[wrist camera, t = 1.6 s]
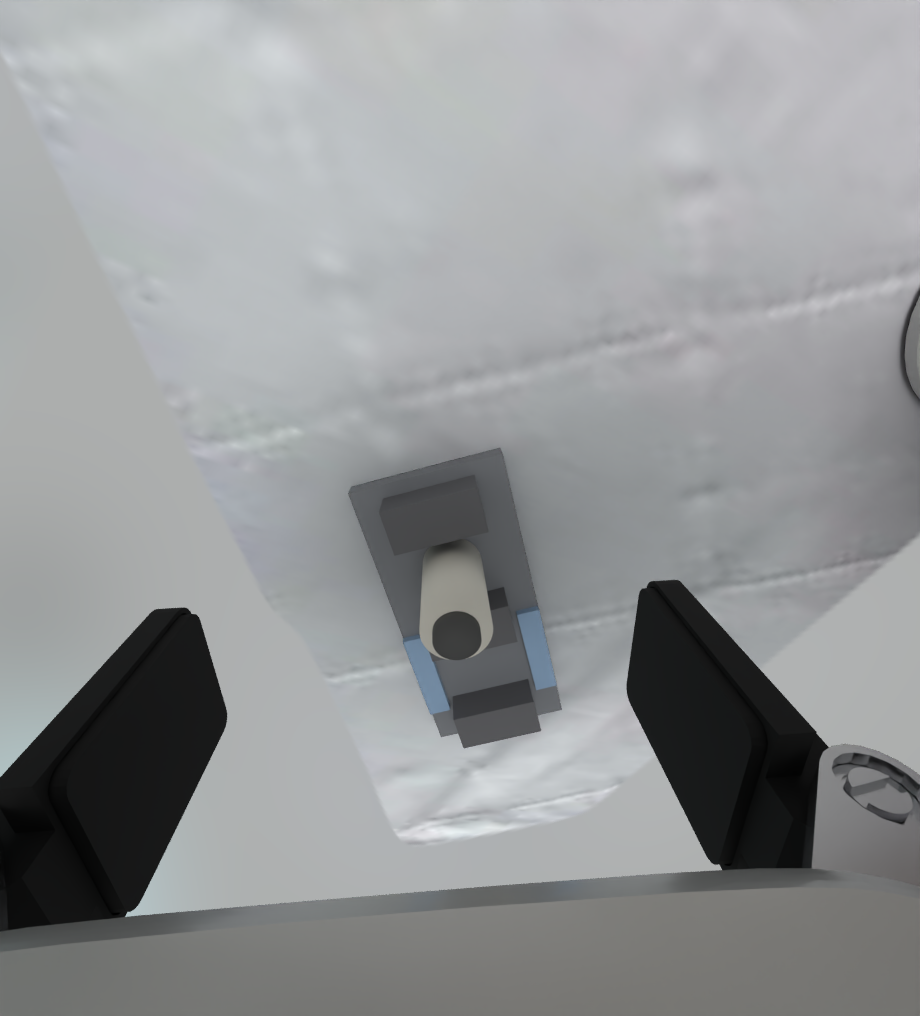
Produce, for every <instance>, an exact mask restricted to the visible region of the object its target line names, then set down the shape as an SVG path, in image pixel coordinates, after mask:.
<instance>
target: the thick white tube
mask: <svg viewBox="0 0 920 1016" xmlns="http://www.w3.org/2000/svg"><path fill="white" fill-rule="evenodd" d="M419 634H420V638H421V641H422V643H423V645H424V646H425V648H426V649H427V650H428V651H429V652H431V653H432V654H434V655H435V656H438V657H440V658H443V659H447V660H463V659H467V658H470V657H473V656H475V655H477V654H479V653H480V652H481V651H483V650H484V649H485V648H486V647H487V645H488V644H489V642H490V641H491V638H492V635H493V623H492V617H491V611H490V605H489V600H488V594H487V588H486V582H485V576H484V571H483V565H482V559H481V555H480V553H479V551H478V549H477V548H476V547H475V546H474V545H473V544H472V543H471V542H469V541H467V540H465V539H459V540H455V541H451V542H447V543H444V544H440V545H436V546H432V547H429V548H428V549H427V551H426V553H425V555H424V558H423V569H422V588H421V608H420V627H419Z"/></svg>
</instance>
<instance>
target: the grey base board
mask: <svg viewBox="0 0 920 1016" xmlns="http://www.w3.org/2000/svg"><path fill="white" fill-rule="evenodd" d="M348 494H349V497H350V499H351V502H352V505H353V507H354V510H355V513H356V515H357V518H358V520H359V523H360V526H361V528H362V531H363V534H364V536H365V539H366V541H367V544H368V547H369V549H370V552H371V555H372V557H373V560H374V562H375V565H376V568H377V570H378V573H379V575H380V578H381V581H382V583H383V586H384V589H385V591H386V594H387V596H388V599H389V602H390V604H391V607H392V610H393V612H394V615H395V617H396V620H397V623H398V625H399V628H400V630H401V633H402V636H403V644H404V647H405V649H406V652H407V654H408V657H409V660H410V662H411V665H412V667H413V670H414V673H415V675H416V678H417V680H418V683H419V686H420V688H421V691H422V693H423V696H424V699H425V701H426V704H427V706H428V709H429V712H430V714H433V717H434V720H435V722H436V725H437V727H438V730H439V733H440V735H441V737H444V736H448V735H452V734H457V733H458V734H459V737H460V739H461V742H462V745H463V748H467V747H472V746H476V745H481V744H485V743H490V742H494V741H498V740H503V739H507V738H512V737H516V736H521V735H525V734H530V733H534V732H538V731H541V728H540V724H539V720H538V716H537V715H541V714H545V713H549V712H554V711H558V710H562V708H561V703H560V699H559V695H558V690H557V685H556V680H555V676H554V672H553V667H552V663H551V659H550V654H549V650H548V646H547V641H546V637H545V633H544V629H543V624H542V620H541V616H540V611H539V608H538V605H537V600H536V596H535V592H534V587H533V583H532V579H531V574H530V570H529V566H528V562H527V557H526V553H525V549H524V544H523V540H522V536H521V532H520V527H519V523H518V519H517V514H516V510H515V506H514V501H513V497H512V493H511V489H510V484H509V480H508V476H507V471H506V467H505V463H504V459H503V454H502V451H501V449H500V448H498V449H494V450H490V451H486V452H482V453H479V454H475V455H471V456H467V457H463V458H459V459H456V460H452V461H448V462H444V463H440V464H437V465H433V466H429V467H425V468H421V469H418V470H414V471H410V472H406V473H402V474H399V475H395V476H391V477H387V478H383V479H380V480H376V481H372V482H368V483H364V484H361V485H357V486H353V487H351V489H350V491H349V493H348ZM459 539H465V540H467V541H469V542H471V543H472V544H473V545H474V546H475V547H476V548H477V549H478V551H479V553H480V555H481V559H482V565H483V571H484V576H485V582H486V588H487V594H488V600H489V605H490V611H491V617H492V623H493V635H492V638H491V641H490V642H489V644H488V645H487V647H486V648H485V649H484V650H483V651H481V652H480V653H479V654H477V655H475V656H473V657H470V658H467V659H463V660H447V659H443V658H440V657H438V656H435V655H434V654H432V653H431V652H429V651H428V650H427V649H426V648H425V646H424V645H423V643H422V641H421V638H420V634H419V627H420V608H421V588H422V569H423V558H424V555H425V553H426V551H427V549H428V548H429V547H432V546H436V545H440V544H444V543H447V542H451V541H455V540H459Z"/></svg>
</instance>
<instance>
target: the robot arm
mask: <svg viewBox="0 0 920 1016" xmlns="http://www.w3.org/2000/svg"><path fill="white" fill-rule="evenodd" d="M905 363H906V371H907V376H908V378H909V381H910V384H911V386H912V389H913V390H914V392H915V393H916V394H917V396H918V397H919V399H920V296H919V299H918V301H917V303H916V306H915V308H914V310H913V313H912V315H911V319H910V323H909V327H908V331H907V335H906V344H905ZM627 695H628V699H629V702H630V704H631V706H632V708H633V710H634V712H635V714H636V716H637V718H638V720H639V722H640V724H641V726H642V728H643V730H644V732H645V734H646V736H647V738H648V740H649V742H650V744H651V746H652V748H653V750H654V752H655V754H656V756H657V758H658V760H659V762H660V764H661V766H662V768H663V770H664V772H665V774H666V776H667V778H668V780H669V782H670V784H671V786H672V788H673V790H674V792H675V794H676V796H677V798H678V800H679V802H680V804H681V806H682V808H683V810H684V812H685V814H686V816H687V818H688V820H689V822H690V824H691V826H692V828H693V830H694V832H695V834H696V836H697V838H698V840H699V842H700V844H701V846H702V848H703V850H704V852H705V854H706V856H707V857H708V859H709V860H710V861H711V863H713V864H720V866H721V868H722V870H719V871H701V872H682V873H666V874H665V873H664V874H650V875H636V876H623V877H609V878H596V879H582V880H570V881H556V882H542V883H529V884H515V885H502V886H489V887H477V888H464V889H453V890H452V889H451V890H439V891H426V892H414V893H403V894H402V893H401V894H389V895H378V896H365V897H352V898H341V899H327V900H316V901H303V902H291V903H280V904H268V905H257V906H246V907H234V908H223V909H211V910H199V911H188V912H176V913H165V914H153V915H141V916H131V917H125V916H126V914H127V912H130V911H132V910H134V909H135V908H136V907H137V906H138V904H139V903H140V901H141V899H142V897H143V895H144V893H145V891H146V889H147V887H148V885H149V883H150V881H151V879H152V877H153V875H154V873H155V871H156V869H157V867H158V865H159V863H160V860H161V859H162V856H163V854H164V852H165V850H166V848H167V846H168V844H169V842H170V840H171V838H172V836H173V834H174V832H175V830H176V828H177V826H178V824H179V821H180V820H181V818H182V816H183V814H184V811H185V809H186V807H187V805H188V803H189V801H190V799H191V797H192V795H193V793H194V791H195V789H196V787H197V785H198V782H199V781H200V779H201V777H202V774H203V772H204V771H205V768H206V766H207V764H208V762H209V760H210V758H211V756H212V754H213V752H214V750H215V748H216V746H217V744H218V742H219V740H220V737H221V736H222V734H223V732H224V729H225V727H226V722H227V710H226V707H225V703H224V700H223V696H222V693H221V690H220V686H219V683H218V679H217V676H216V673H215V669H214V666H213V662H212V659H211V656H210V652H209V649H208V645H207V642H206V639H205V635H204V632H203V629H202V625H201V622H200V619H199V617H198V616H197V615H196V614H191V612H190V611H189V610H188V609H187V608H169V609H156V610H154V611H153V612H151V613H150V614H149V616H148V617H146V619H145V620H144V621H143V622H142V623H141V624H140V625H139V626H138V627H137V628H136V630H135V631H134V632H133V633H132V634H131V635H130V636H129V637H128V638H127V639H126V640H125V642H124V643H123V644H122V645H121V646H120V647H119V648H118V650H116V652H115V653H114V654H113V655H112V656H111V657H110V658H109V659H108V660H107V661H106V662H105V663H104V664H103V666H102V667H101V668H100V669H99V670H98V671H97V672H96V674H94V675H93V677H92V678H91V679H90V680H89V681H88V682H87V683H86V684H85V685H84V686H83V687H82V689H81V690H80V691H79V692H78V693H77V694H76V695H75V696H74V697H73V698H72V700H71V701H70V702H69V703H68V704H67V705H66V706H65V707H64V708H63V709H62V710H61V712H60V713H59V714H58V715H57V716H56V717H55V718H54V719H53V720H52V721H51V722H50V724H49V725H48V726H47V727H46V728H45V729H44V730H43V731H42V732H41V733H40V735H39V736H38V737H37V738H36V739H35V740H34V741H33V742H32V743H31V745H29V747H28V748H27V749H26V750H25V751H24V752H23V753H22V754H21V755H20V756H19V757H18V759H17V760H16V761H15V762H14V763H13V764H12V765H11V766H10V767H9V768H8V770H7V771H6V772H5V773H4V774H3V775H2V776H1V777H0V1016H920V775H919V774H917V772H915V771H913V770H912V769H910V768H909V767H907V766H906V765H904V764H903V763H901V762H899V761H898V760H896V759H894V758H892V757H890V756H888V755H885V754H883V753H881V752H879V751H876V750H873V749H869V748H866V747H862V746H857V745H848V744H842V745H836V746H831V747H828V746H827V745H826V744H825V743H824V742H823V740H822V739H821V738H820V737H819V736H818V735H817V734H816V731H815V730H814V729H813V728H812V727H811V726H810V725H809V723H808V722H807V721H806V720H805V719H804V718H803V717H802V716H801V714H800V713H799V712H798V711H797V710H796V709H795V708H794V707H793V706H792V704H791V703H790V702H789V701H788V700H787V699H786V698H785V697H784V696H783V695H782V693H781V692H780V691H779V690H778V689H777V688H776V687H775V686H774V685H773V684H772V682H771V681H770V680H769V679H768V678H767V677H766V676H765V675H764V673H763V672H762V671H761V670H760V669H759V668H758V667H757V666H756V665H755V664H754V662H753V661H752V660H751V659H750V658H749V657H748V656H747V655H746V654H745V652H744V651H743V650H742V649H741V648H740V647H739V646H738V645H737V644H736V642H735V641H734V640H733V639H732V638H731V637H730V636H729V635H728V634H727V633H726V631H725V630H724V629H723V628H722V627H721V626H720V625H719V624H718V623H717V621H716V620H715V619H714V618H713V617H712V616H711V615H710V614H709V613H708V612H707V610H706V609H705V608H704V607H703V606H702V605H701V604H700V603H699V602H698V600H697V599H696V598H695V597H694V596H693V595H692V594H691V593H690V592H689V591H688V589H687V588H686V587H685V586H684V585H683V584H682V583H681V582H680V581H678V580H667V581H651V582H650V583H649V584H648V585H647V588H645V589H641V591H640V593H639V598H638V606H637V613H636V620H635V627H634V635H633V642H632V649H631V656H630V664H629V671H628V678H627Z"/></svg>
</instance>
